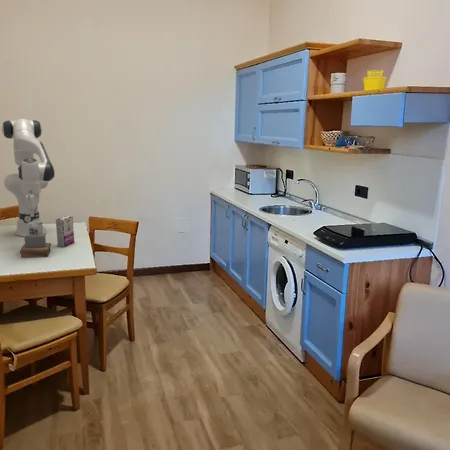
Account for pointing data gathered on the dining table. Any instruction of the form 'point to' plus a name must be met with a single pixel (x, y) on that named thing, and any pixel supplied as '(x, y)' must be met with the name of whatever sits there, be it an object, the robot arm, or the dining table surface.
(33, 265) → the dining table surface
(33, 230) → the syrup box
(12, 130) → the robot arm
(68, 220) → the candy bar box
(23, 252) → the wooden stand
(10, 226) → the dining table surface
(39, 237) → the block
